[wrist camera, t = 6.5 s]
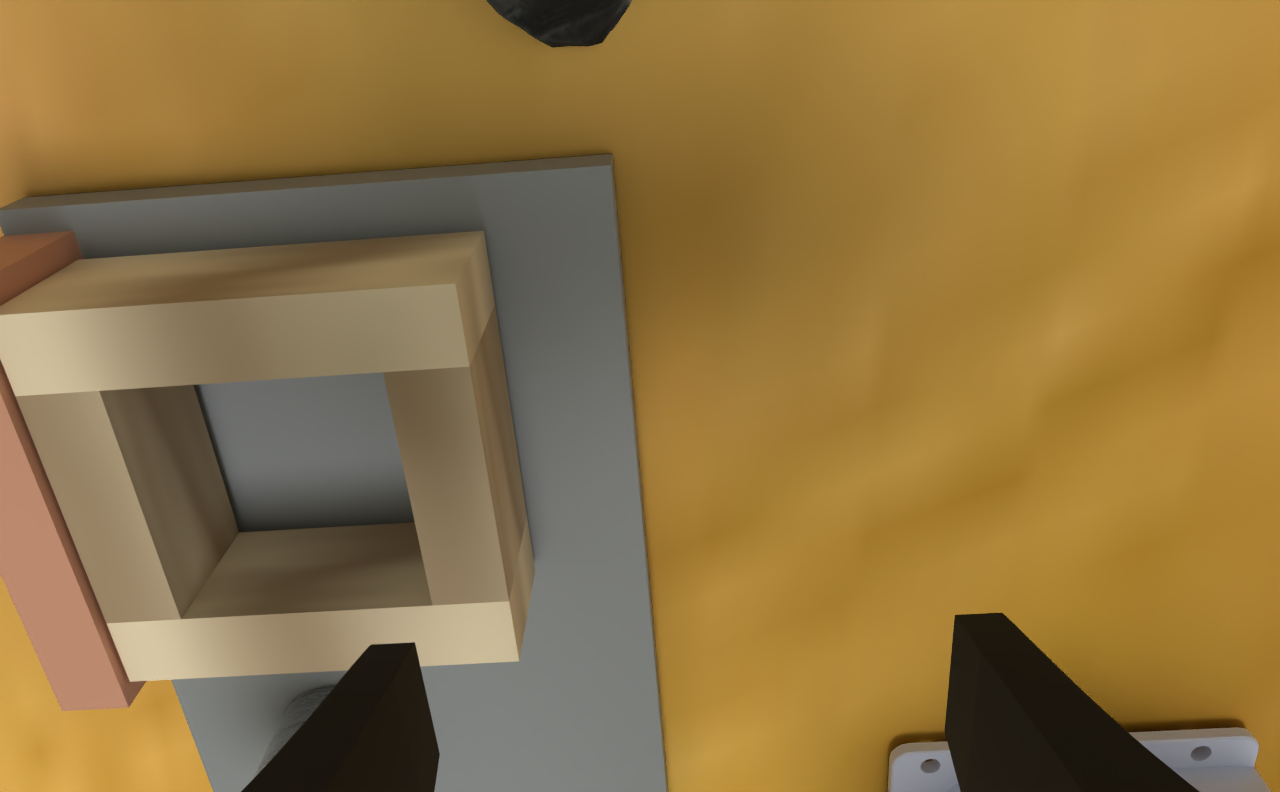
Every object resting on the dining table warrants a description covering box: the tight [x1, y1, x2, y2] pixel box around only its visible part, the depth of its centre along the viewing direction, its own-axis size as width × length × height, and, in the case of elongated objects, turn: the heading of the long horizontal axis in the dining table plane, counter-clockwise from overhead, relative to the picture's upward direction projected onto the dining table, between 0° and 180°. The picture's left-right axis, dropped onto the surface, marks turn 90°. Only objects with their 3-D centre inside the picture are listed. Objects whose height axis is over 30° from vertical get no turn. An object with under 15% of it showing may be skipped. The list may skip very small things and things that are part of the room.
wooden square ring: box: [0, 231, 535, 682], centre depth 19 cm, size 8×8×3 cm
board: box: [0, 154, 668, 792], centre depth 21 cm, size 12×18×4 cm, turn 4°
